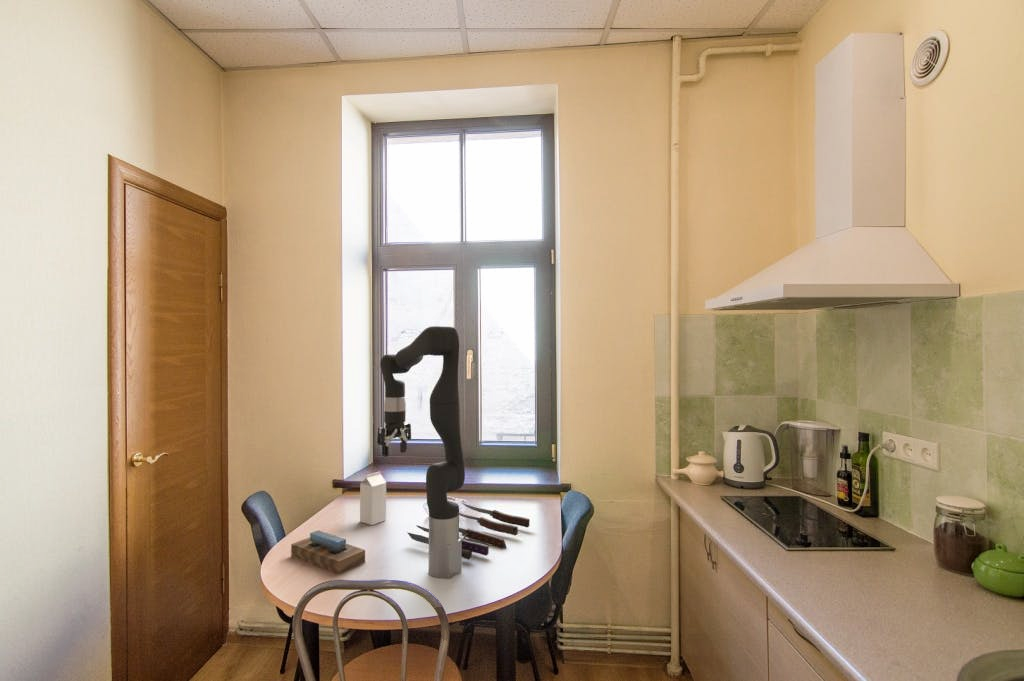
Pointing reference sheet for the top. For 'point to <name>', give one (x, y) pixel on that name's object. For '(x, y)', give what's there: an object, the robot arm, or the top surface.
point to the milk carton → (373, 499)
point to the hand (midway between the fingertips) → (394, 454)
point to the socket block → (328, 556)
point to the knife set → (480, 536)
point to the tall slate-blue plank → (328, 541)
